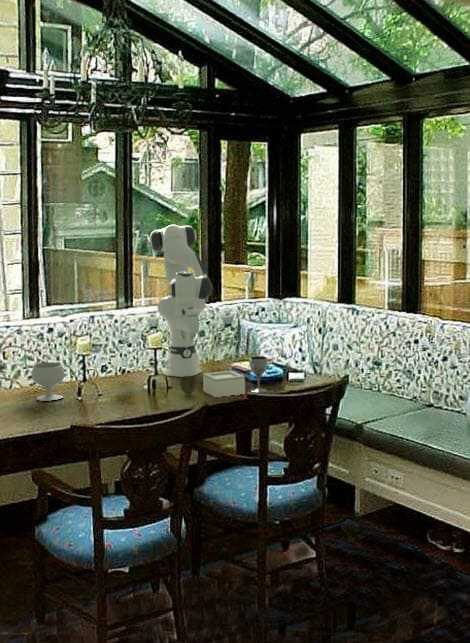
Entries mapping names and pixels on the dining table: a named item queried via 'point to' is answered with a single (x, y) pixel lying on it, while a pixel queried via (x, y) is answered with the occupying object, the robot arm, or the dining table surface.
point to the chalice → (48, 378)
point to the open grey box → (223, 383)
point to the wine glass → (258, 369)
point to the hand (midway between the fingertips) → (186, 341)
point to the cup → (188, 385)
